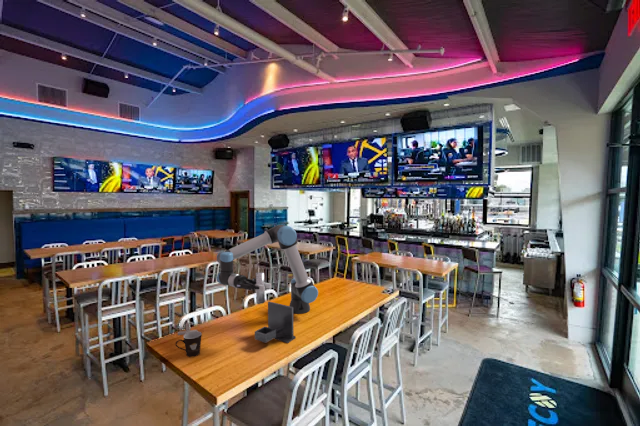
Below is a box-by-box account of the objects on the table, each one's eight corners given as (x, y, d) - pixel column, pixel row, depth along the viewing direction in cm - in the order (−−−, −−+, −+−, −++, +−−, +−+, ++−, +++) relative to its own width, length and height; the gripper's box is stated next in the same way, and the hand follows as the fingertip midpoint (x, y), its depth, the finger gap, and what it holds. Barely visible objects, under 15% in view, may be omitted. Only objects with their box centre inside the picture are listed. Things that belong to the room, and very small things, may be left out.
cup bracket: (271, 331, 185) (271, 300, 184) (295, 338, 175) (295, 306, 174) (248, 343, 169) (247, 310, 168) (273, 352, 159) (272, 317, 158)
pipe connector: (176, 346, 166) (176, 328, 166) (179, 338, 176) (179, 321, 175) (196, 344, 169) (195, 326, 168) (198, 336, 178) (198, 319, 178)
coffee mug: (204, 349, 162) (204, 331, 162) (198, 358, 154) (198, 338, 153) (182, 350, 162) (181, 331, 162) (175, 358, 153) (174, 339, 153)
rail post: (260, 300, 171) (260, 271, 170) (266, 301, 169) (266, 272, 168) (254, 302, 168) (254, 273, 167) (260, 304, 165) (260, 274, 164)
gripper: (249, 284, 185) (278, 290, 172) (225, 291, 171) (255, 298, 158) (249, 271, 185) (278, 277, 172) (225, 277, 170) (255, 284, 157)
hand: (267, 287), depth 165 cm, fingers closed on rail post, 4 cm apart
